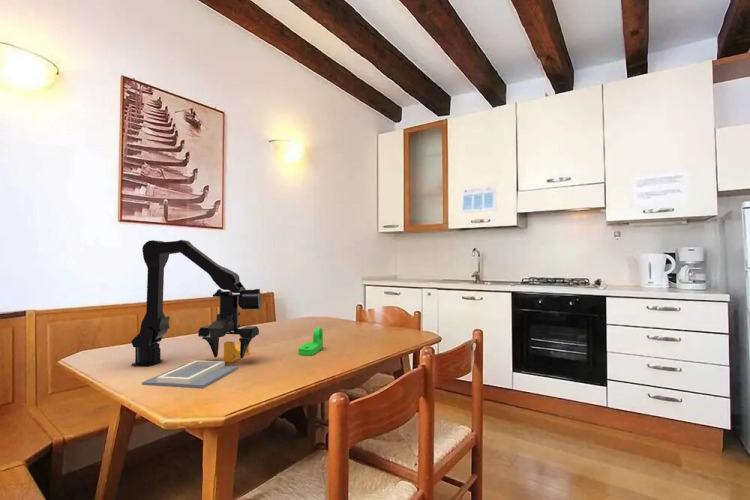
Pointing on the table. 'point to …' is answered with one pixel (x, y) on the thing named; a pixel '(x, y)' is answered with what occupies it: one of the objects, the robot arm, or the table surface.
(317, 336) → the mechanical part
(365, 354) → the table surface
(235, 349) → the pipe clamp
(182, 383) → the jig board
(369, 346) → the table surface
